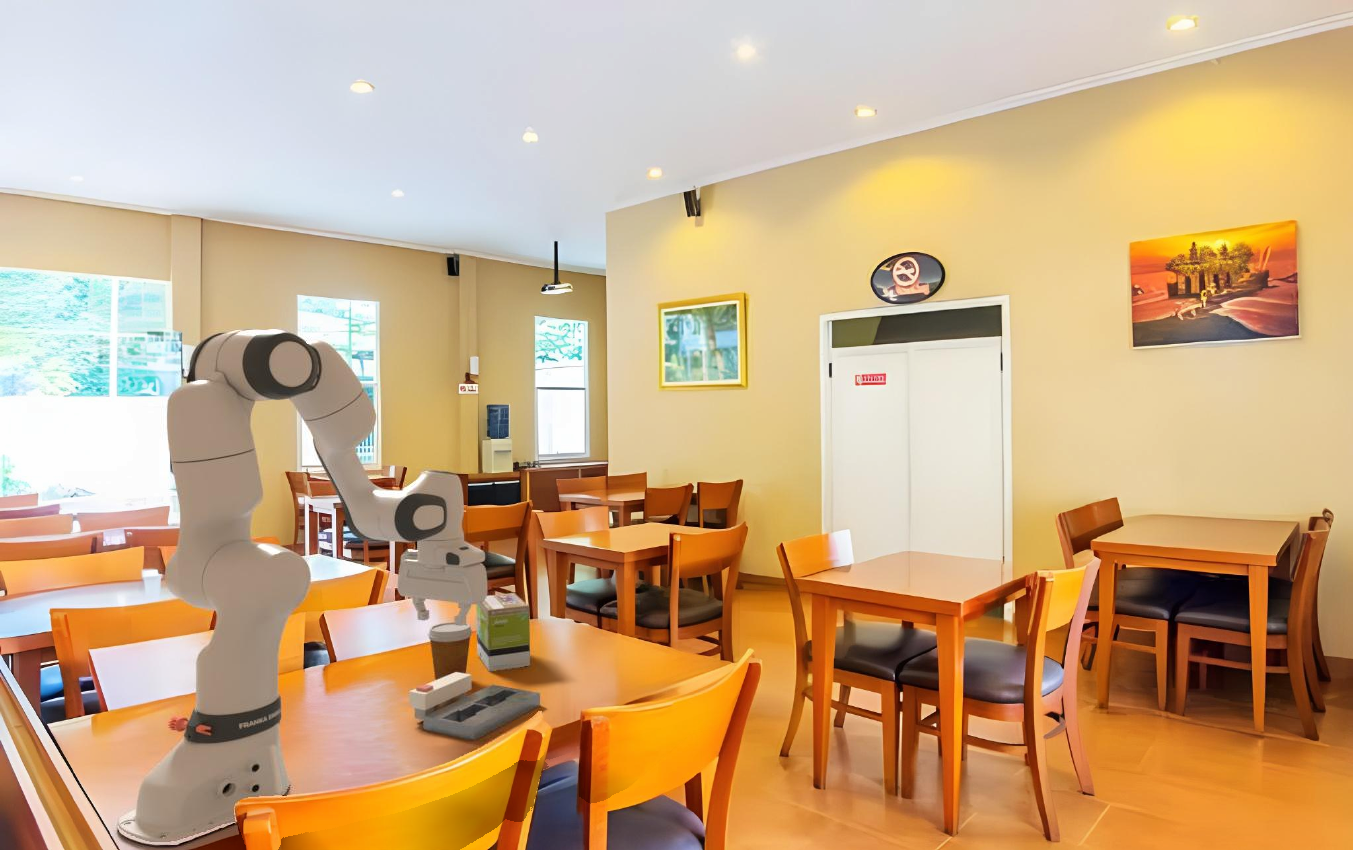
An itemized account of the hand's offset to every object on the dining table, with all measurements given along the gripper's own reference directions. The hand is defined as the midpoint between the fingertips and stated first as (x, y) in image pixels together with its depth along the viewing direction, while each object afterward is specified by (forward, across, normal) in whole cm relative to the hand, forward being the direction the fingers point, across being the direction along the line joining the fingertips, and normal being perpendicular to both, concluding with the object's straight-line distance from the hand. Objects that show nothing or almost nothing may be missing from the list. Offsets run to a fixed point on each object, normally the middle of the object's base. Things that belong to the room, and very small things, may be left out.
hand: (441, 622), depth 156 cm
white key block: (+15, 0, 0) cm, 15 cm away
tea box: (+18, -11, +33) cm, 39 cm away
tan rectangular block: (+18, 0, 0) cm, 18 cm away
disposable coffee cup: (+18, -12, +16) cm, 27 cm away
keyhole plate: (+18, +9, +2) cm, 20 cm away
